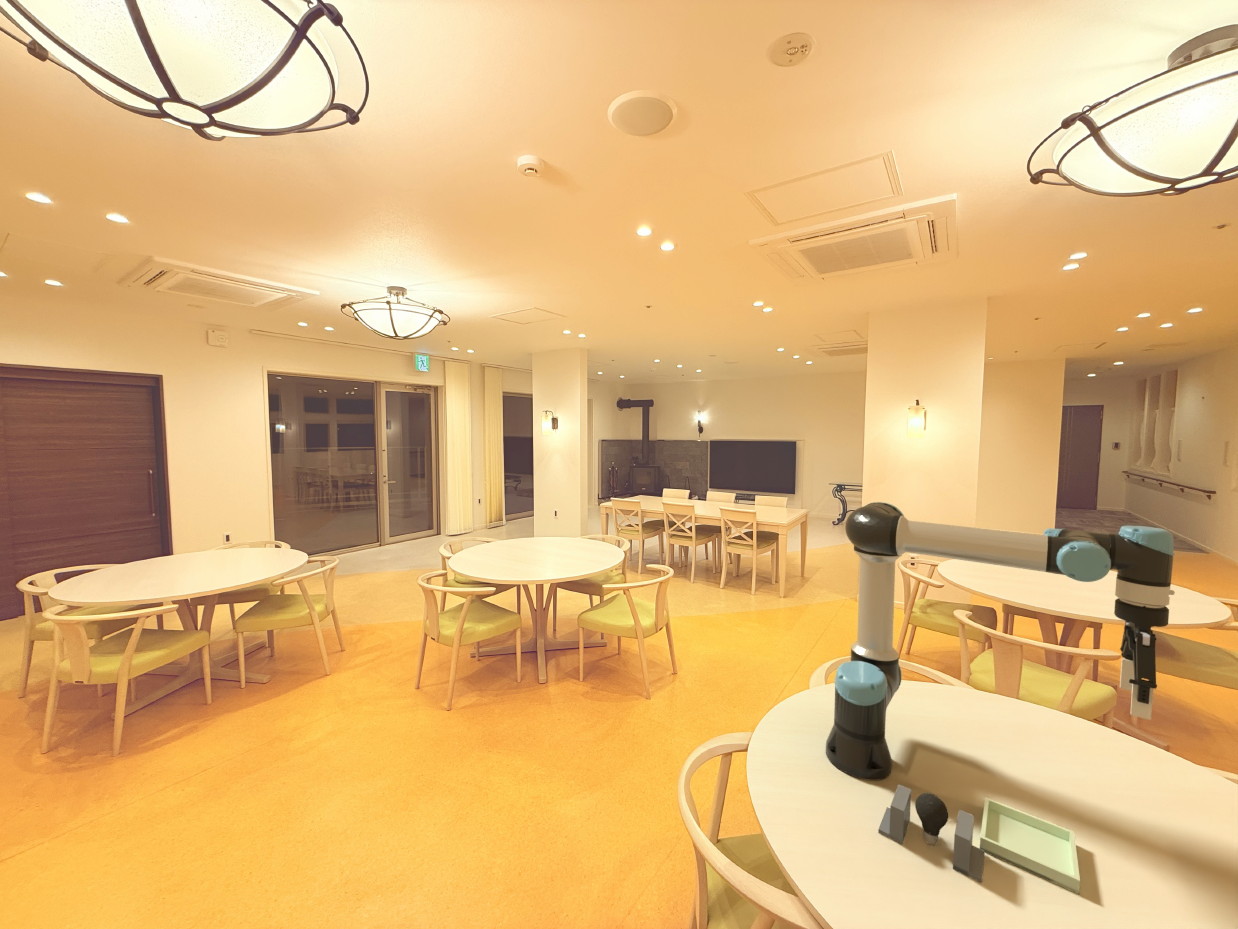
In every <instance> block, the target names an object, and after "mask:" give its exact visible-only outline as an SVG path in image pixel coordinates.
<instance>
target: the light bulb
mask: <svg viewBox="0 0 1238 929" xmlns="http://www.w3.org/2000/svg"><path fill="white" fill-rule="evenodd" d="M914 805H915V806H914V807H915V811H916V814H917V816H918V818H919V820H920V822H921V826H922V832H923V833H922V836H923V837H922V838H923V839H924V841H925V842H926V843H927V844H928V845H929V846H935V845H937V844H938V841H939V835H940V831H941V830H942V828H944V827H945V826H946V824H947V823H948V821H949V811H948V807H947V805H946V803H945V802H944V801H943V800H942V799H941V797H939V796H937V795H935V794H933V793H931V792H923V793H921V794H919V795H918V796H917V798H916V799H915V804H914Z"/></svg>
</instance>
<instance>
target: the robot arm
mask: <svg viewBox="0 0 1238 929" xmlns="http://www.w3.org/2000/svg"><path fill="white" fill-rule="evenodd" d="M844 530H845V534H846V536H847V538H848V540H849V541H850V542H851V544H852V545H853V551H854V553H855V554H856V555H858V556H859V566H858V567H859V570H858V572H859V573H858V576H859V577H858V602H857V604H858V605H857V606H858V607H857V639H856V641H855V642H854V643H852V644H851V646H850V661H846V662H843V663H842V664H840V665H839V666H838V667H837V669H836V671H835V672H836V673H835V677H834V716H833V720H834V721H833V725H832V727H831V729H830V732H829V734H828V736H827V739H826V743H825V755H826V758H827V759H828V760H829V762H830V763H831V764H832V765H833V766H834V767H836V768H837V769H839V771H842V772H844V773H845V774H847V775H849V776H852V777H855V778H858V779H861V780H867V781H880V780H884V779H886V778H888V777H889V776H890V775H891V774H892V770H893V769H892V768H893V759H892V756H891V752H890V750H889V749H890V748H889V746H888V743H887V739H886V721H887V720H886V717H887V709H888V707H889V705H890V703H891V701H892V700H893V697H894V695H895V694H896V692H897V691H898V690H899V688H900V686H901V683H902V670H901V665H900V664H899V663H900V662H899V661H900V660H899V658H900V654H899V652H898V651H897V650H896V649H895V648H894V647H893V646H894V645H893V641H894V616H895V615H894V613H895V612H894V611H895V608H894V607H895V587H896V585H895V582H896V580H895V579H896V577H895V576H896V561H897V560H898V559H899V558H901V557H902V556H903V555H904V554H905V553H911V554H917V555H925V556H931V557H937V558H944V559H945V558H946V559H953V560H959V561H965V562H972V563H981V564H986V565H993V566H994V565H995V566H1001V567H1008V568H1009V567H1010V568H1016V569H1022V570H1029V571H1037V572H1042V573H1043V572H1044V573H1049V574H1054V575H1061V576H1062V575H1063V576H1066V577H1068V578H1070V579H1072V580H1075V581H1078V582H1083V583H1091V582H1092V583H1093V582H1097V581H1099V580H1102V579H1104V578H1105V577H1106V576H1107V575H1108V574H1109V572H1110V570H1113V571H1116V573H1117V574H1116V577H1115V578H1116V579H1115V591H1114V596H1115V597H1117V598H1116V599H1114V613H1113V614H1114V616H1115V617H1116V618H1118V619H1120V620H1121V621H1125V623H1124V627H1123V634H1122V640H1121V646H1120V648H1119V650H1120V652H1121V654H1120V655H1121V657H1122V658H1121V662H1120V664H1121V666H1120V678H1119V689H1122V690H1125V691H1130V692H1131V697H1130V698H1131V701H1130V712H1129V713H1130V716H1133V717H1137V718H1140V719H1144V720H1148V721H1152V715H1153V712H1152V710H1153V698H1154V690H1155V689H1156V690H1157V687H1158V684H1157V672H1156V671H1157V670H1156V667H1157V665H1156V664H1157V663H1156V641H1157V637H1156V634H1155V633H1153V630H1152V628H1153V627H1157V628H1164V627H1166V626H1168V624H1169V615H1170V609H1169V608H1168V607H1167V606H1169V605H1170V598H1171V597H1170V596H1174V595H1175V590H1173V589H1171V585H1172V574H1173V564H1174V556H1175V553H1174V535H1173V533H1172V532H1171V531H1170V530H1167V529H1164V528H1159V527H1153V526H1145V525H1129V524H1127V525H1122V526H1121V527H1120V529H1119V531H1118V533H1113V534H1112V533H1102V532H1094V531H1085V530H1075V529H1067V528H1053V527H1052V528H1051V527H1050V528H1049V527H1048V528H1045V530H1044V531H1043V534H1036V533H1027V532H1018V531H1007V530H998V529H997V530H996V529H989V528H981V527H971V526H961V525H955V524H954V525H951V524H943V523H942V524H941V523H935V522H924V521H917V520H915V521H914V520H909V519H907V518H906V517H905V515H904V514H903V512H902V511H901V510H900V509H899V508H898V507H896V506H895V505H894V504H890V503H888V502H883V501H882V502H881V501H880V502H879V501H877V502H875V501H874V502H870V503H867V504H865V505H864V506H861V507H859V508H857V509H854V510H853V511H851V512H850V513H849V515H848V516H847V519H846V521H845V527H844Z"/></svg>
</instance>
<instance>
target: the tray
mask: <svg viewBox="0 0 1238 929" xmlns="http://www.w3.org/2000/svg"><path fill="white" fill-rule="evenodd" d="M981 822H982V823H981V829H980V839H979V840H980V841H979V842H980V843H979V848H980V849H982V850H984V851H985V853H986V854H988V855H991V856H992V857H995V858H997V859H999V860H1001V861H1003V862H1006V863H1008V864H1010V865H1013V866H1015V867H1017V868H1020V869H1021V870H1024V871H1026V872H1028V873H1031V874H1033V875H1035V876H1037V877H1039V878H1042V879H1044V880H1046V881H1048V882H1050V883H1052V884H1054V885H1057V886H1059V887H1062V888H1064V889H1066V890H1068V891H1070V892H1072V893H1075V894H1077V895H1080V888H1081V877H1080V869H1079V861H1078V853H1077V851H1078V850H1077V845H1076V844H1077V843H1076V836H1075V831H1073V830H1071V829H1068V828H1066V827H1063V826H1060V825H1059V824H1055V823H1053V822H1051V821H1048V820H1045V819H1042V818H1040V817H1038V816H1035V815H1032V814H1030V813H1027V812H1024V811H1022V810H1020V809H1017V808H1015V807H1013V806H1010V805H1006V804H1005V803H1002V802H999V801H996V800H995V799H992V798H988V797H986V796H985V797H984V804H983V812H982V820H981Z"/></svg>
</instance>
